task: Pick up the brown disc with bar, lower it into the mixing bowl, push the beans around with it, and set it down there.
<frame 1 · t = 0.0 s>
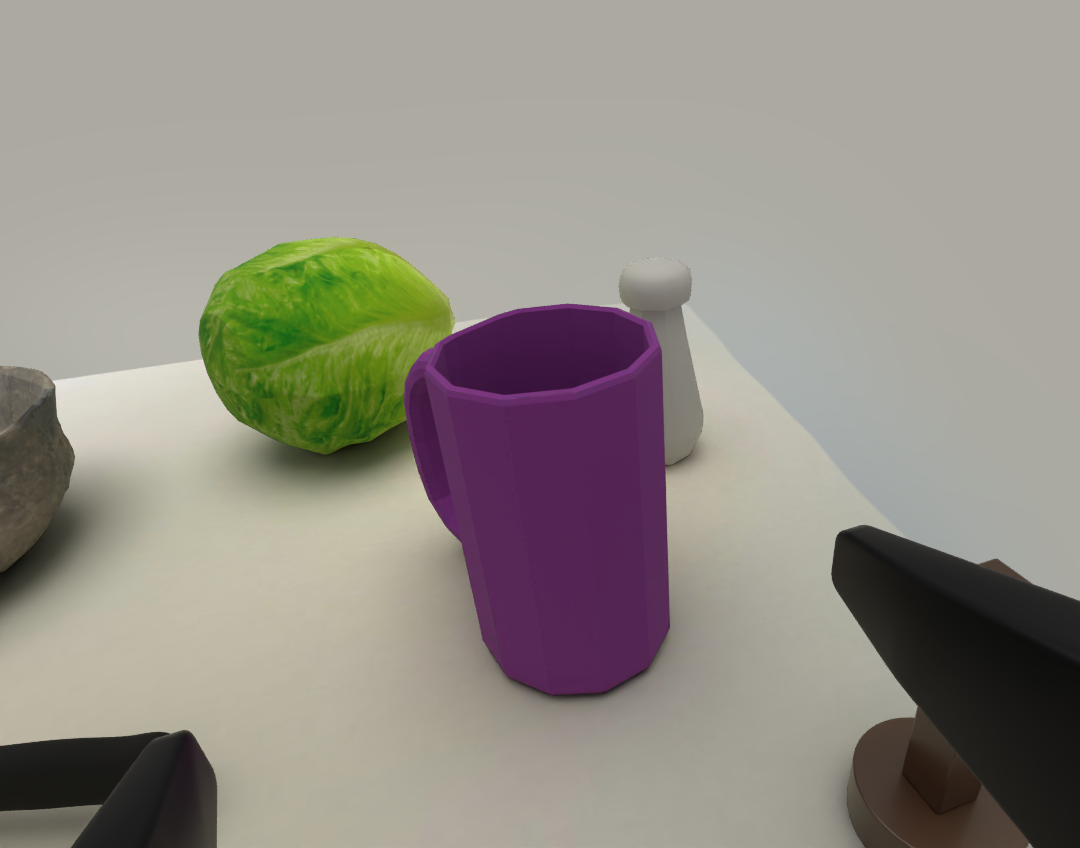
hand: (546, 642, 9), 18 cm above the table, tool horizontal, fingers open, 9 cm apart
mug: (532, 598, 35), on the table
lettuce: (370, 425, 54), on the table
brown disc with bar: (928, 819, 23), on the table
salt shaker: (660, 452, 46), on the table
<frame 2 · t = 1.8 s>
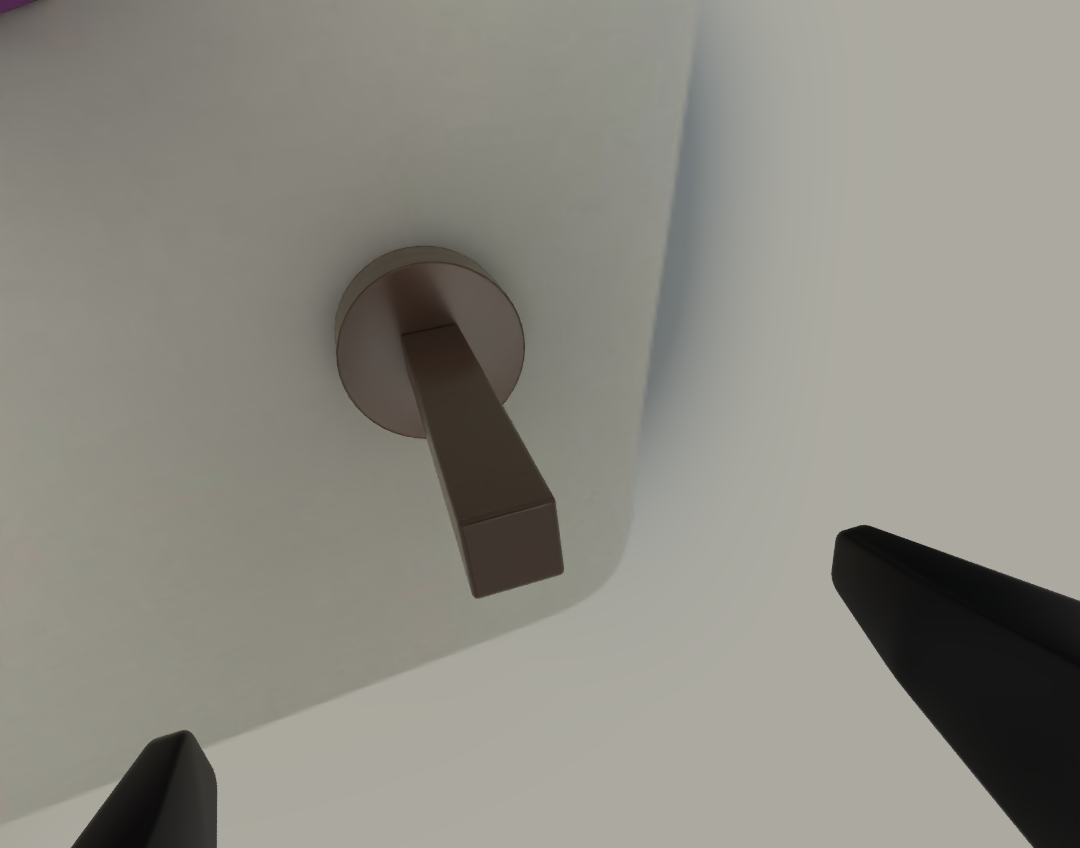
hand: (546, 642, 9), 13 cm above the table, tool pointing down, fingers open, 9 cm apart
brown disc with bar: (425, 332, 20), on the table
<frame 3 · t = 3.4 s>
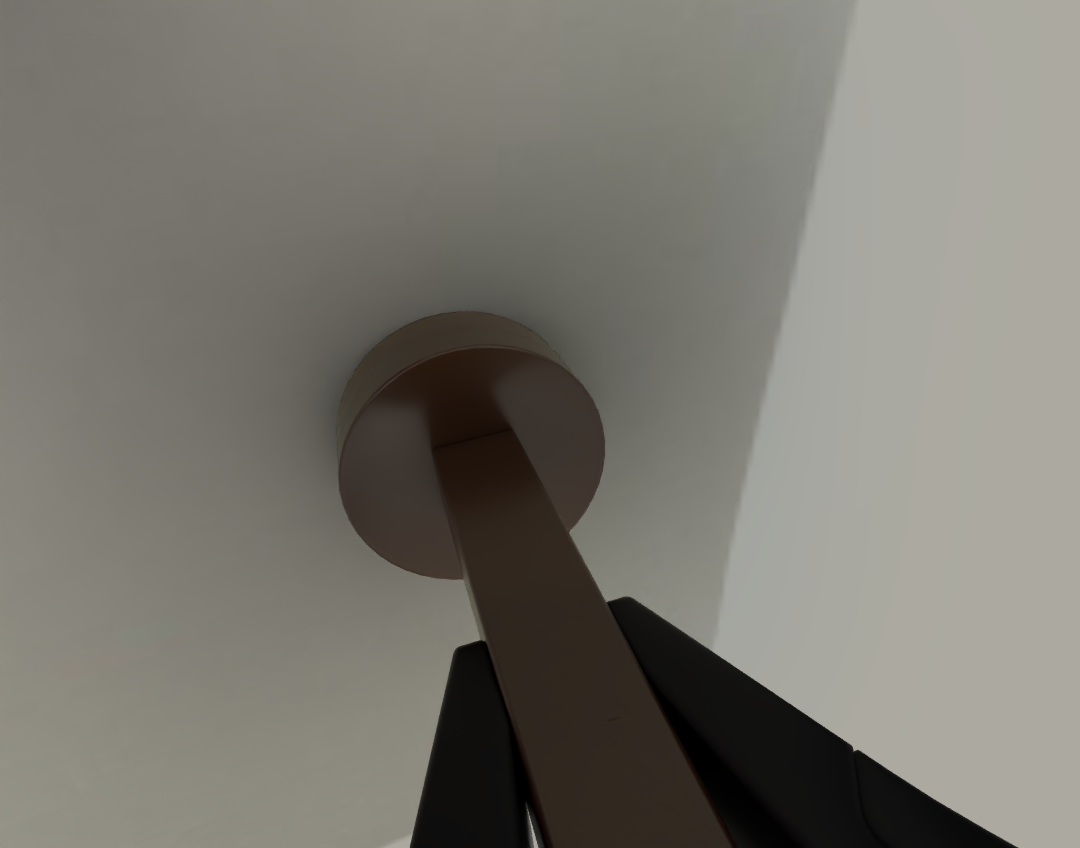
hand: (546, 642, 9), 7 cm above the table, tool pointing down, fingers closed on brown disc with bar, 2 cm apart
brown disc with bar: (461, 426, 15), on the table, touching gripper
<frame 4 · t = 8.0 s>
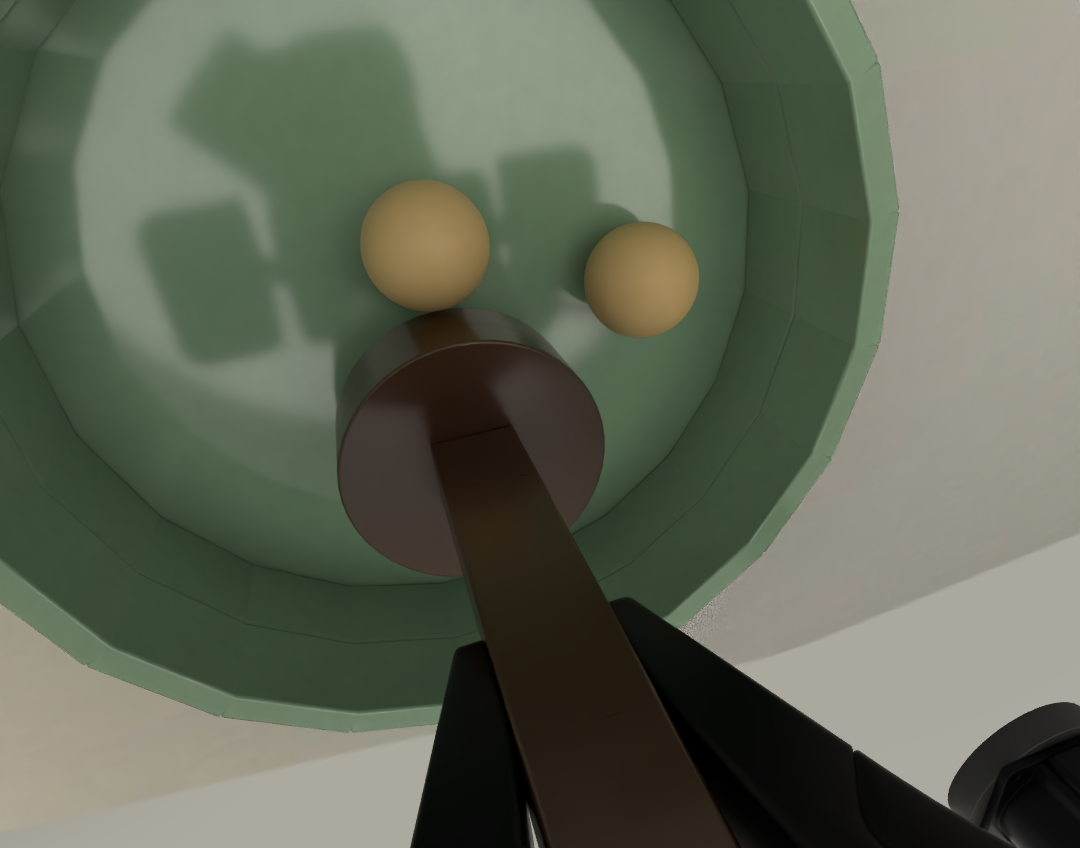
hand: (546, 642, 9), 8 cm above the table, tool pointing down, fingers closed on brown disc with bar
bean a: (418, 234, 14), resting on mixing bowl
bean b: (619, 266, 15), resting on mixing bowl
mixing bowl: (429, 297, 15), on the table
brown disc with bar: (460, 423, 15), point 2 cm above the table, touching gripper
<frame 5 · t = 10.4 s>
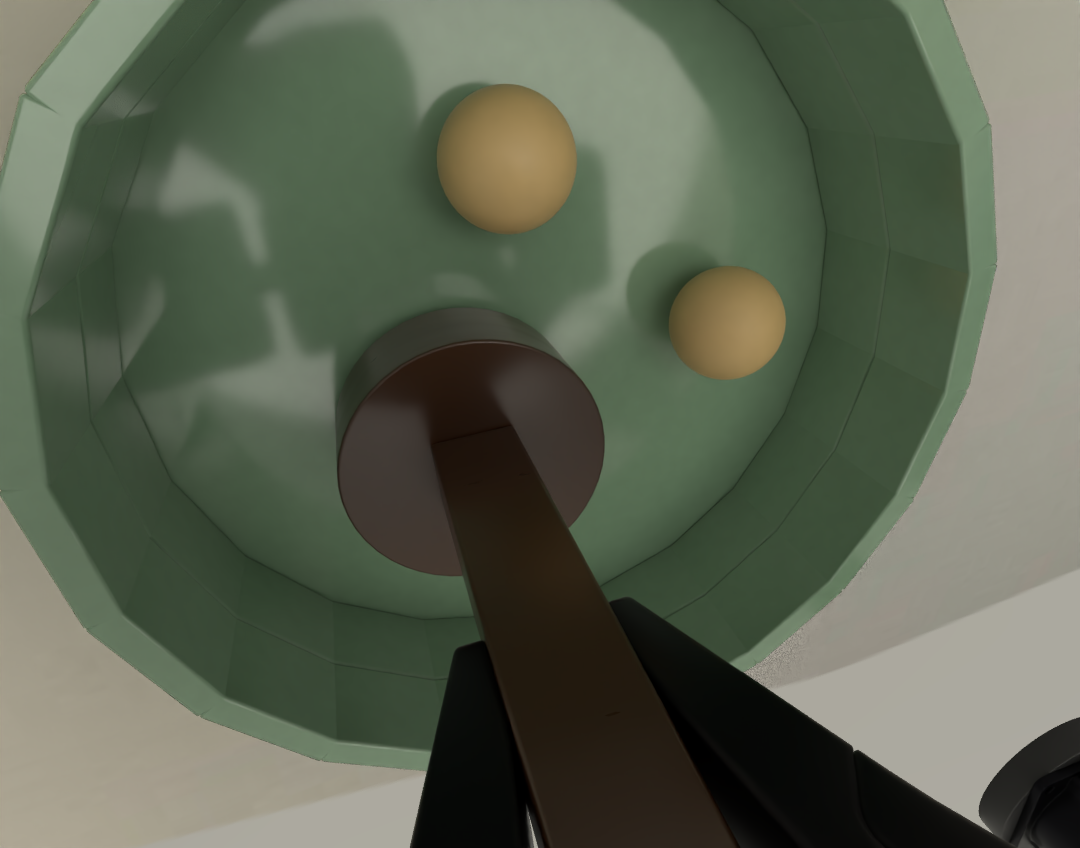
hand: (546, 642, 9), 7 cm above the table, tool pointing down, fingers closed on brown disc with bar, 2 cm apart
bean a: (522, 231, 12), point 2 cm above the table, tilted 114°, touching mixing bowl
bean b: (698, 306, 15), resting on mixing bowl
mixing bowl: (512, 338, 15), on the table
brown disc with bar: (460, 422, 15), point 1 cm above the table, touching gripper
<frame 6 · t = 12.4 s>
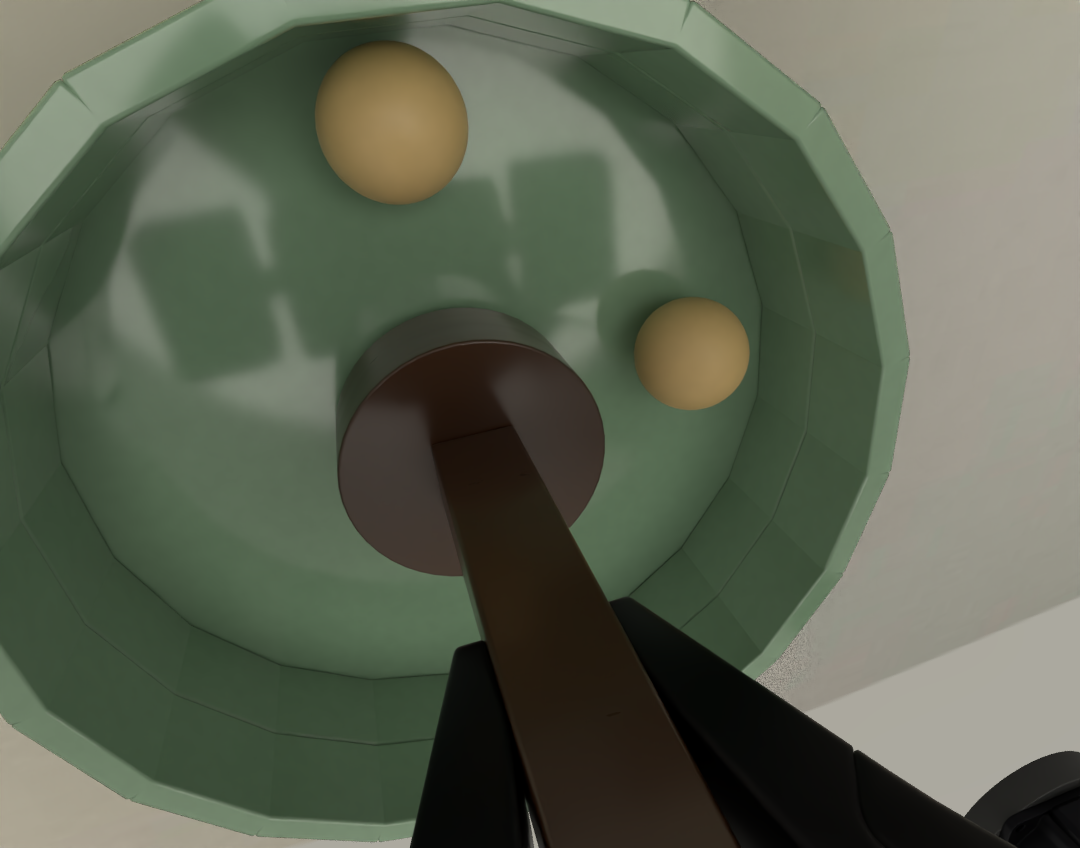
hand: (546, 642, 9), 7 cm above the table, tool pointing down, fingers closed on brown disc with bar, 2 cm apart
bean a: (383, 73, 10), point 3 cm above the table, tilted 140°, touching mixing bowl
bean b: (644, 375, 15), point 1 cm above the table, tilted 56°, touching mixing bowl
mixing bowl: (452, 413, 15), on the table
brown disc with bar: (460, 422, 14), point 1 cm above the table, touching gripper
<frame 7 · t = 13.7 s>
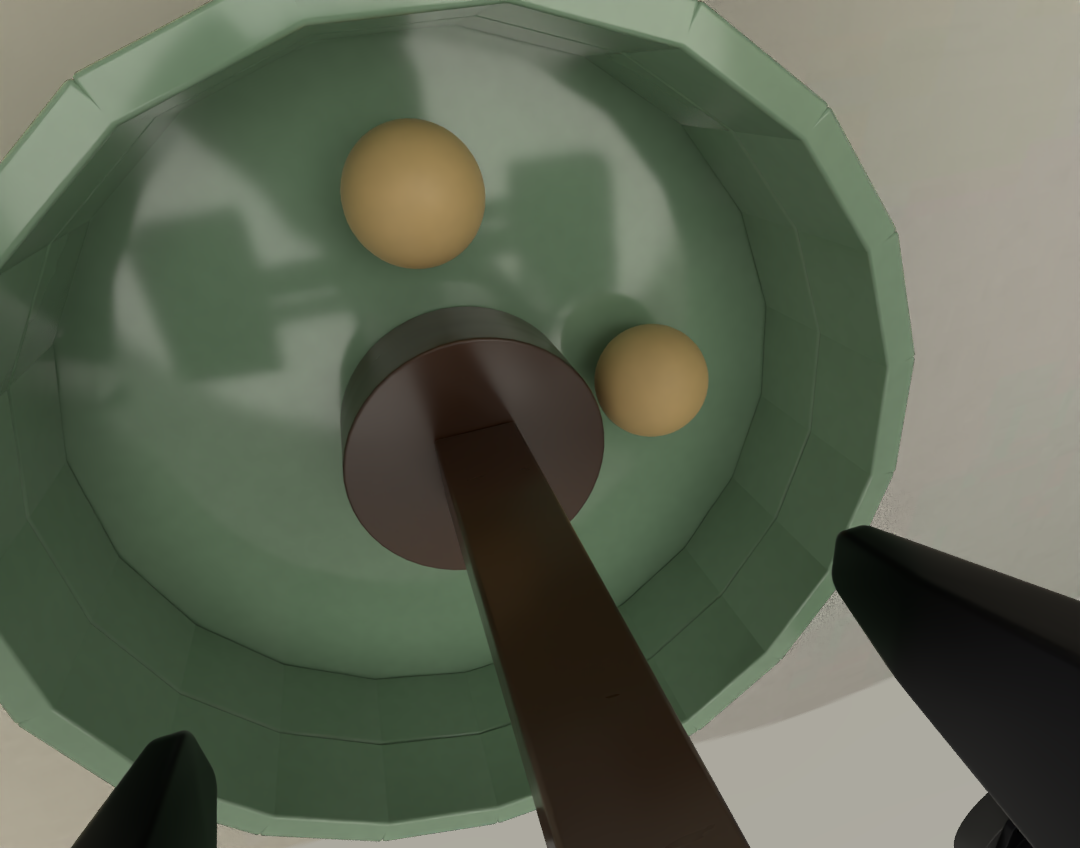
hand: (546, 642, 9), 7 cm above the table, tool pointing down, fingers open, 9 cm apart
bean a: (422, 225, 10), point 3 cm above the table, tilted 167°, touching mixing bowl
bean b: (632, 371, 15), point 1 cm above the table, tilted 14°, touching mixing bowl
mixing bowl: (456, 413, 15), on the table
brown disc with bar: (462, 419, 15), resting on mixing bowl
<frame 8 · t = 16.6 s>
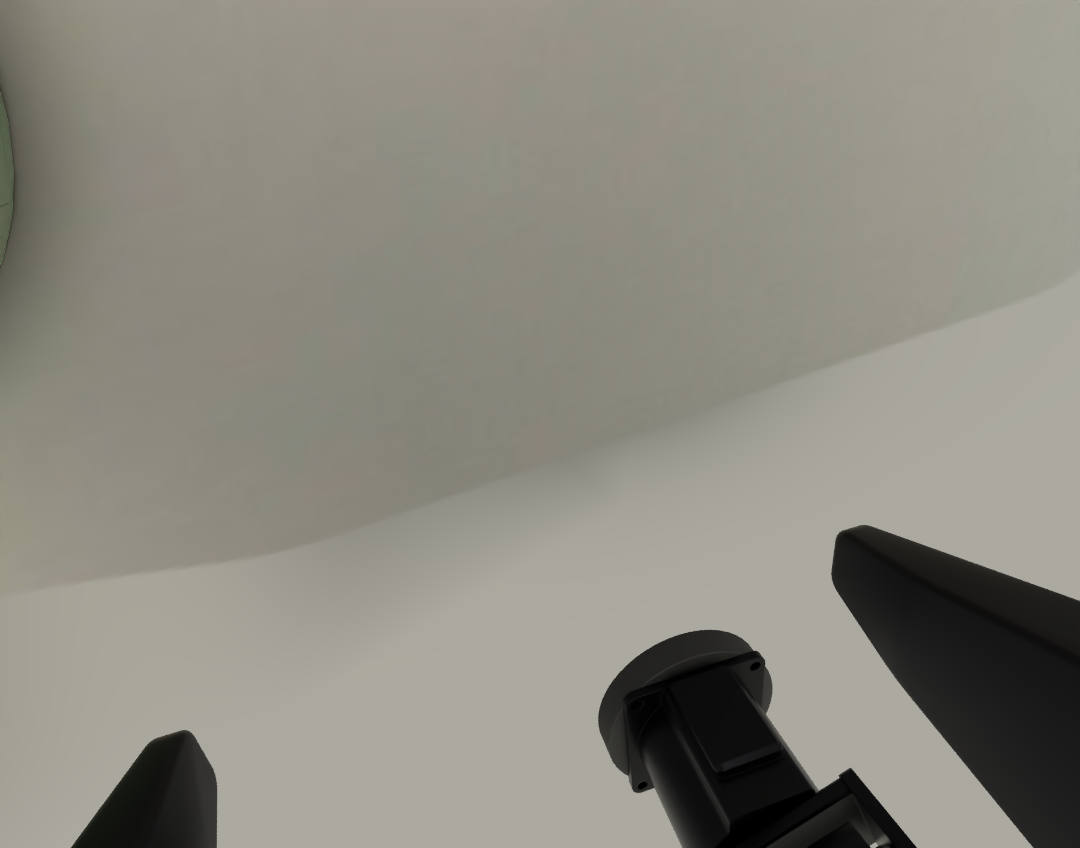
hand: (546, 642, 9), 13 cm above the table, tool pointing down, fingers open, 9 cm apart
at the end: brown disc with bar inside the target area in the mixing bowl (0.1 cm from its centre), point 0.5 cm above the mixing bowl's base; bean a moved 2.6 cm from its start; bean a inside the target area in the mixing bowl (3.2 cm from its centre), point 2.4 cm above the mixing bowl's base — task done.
